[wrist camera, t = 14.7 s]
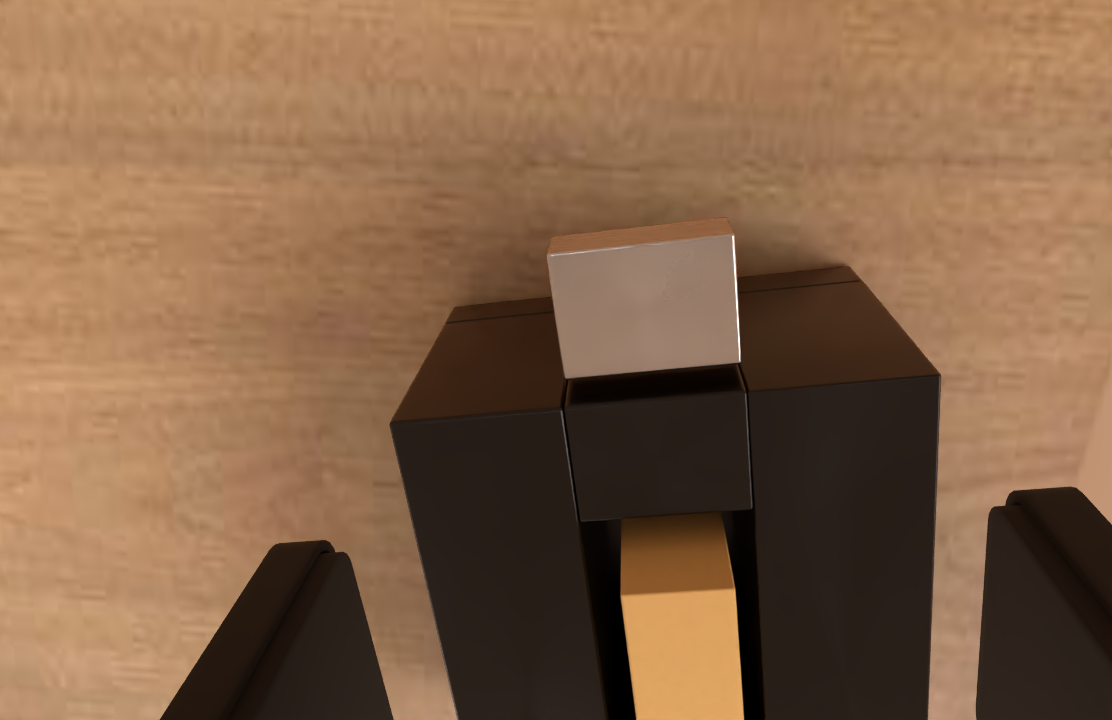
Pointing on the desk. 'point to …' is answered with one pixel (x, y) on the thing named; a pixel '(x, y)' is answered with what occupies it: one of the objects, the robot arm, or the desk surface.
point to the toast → (680, 618)
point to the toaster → (681, 503)
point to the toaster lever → (646, 298)
